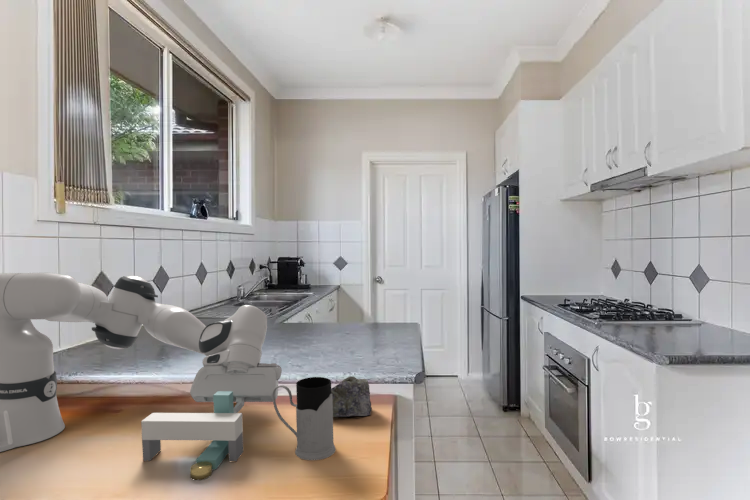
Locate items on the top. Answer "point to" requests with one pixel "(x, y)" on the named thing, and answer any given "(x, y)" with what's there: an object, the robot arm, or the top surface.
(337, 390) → the mineral rock
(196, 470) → the token
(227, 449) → the block
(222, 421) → the white bench
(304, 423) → the glass holder
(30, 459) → the top surface
